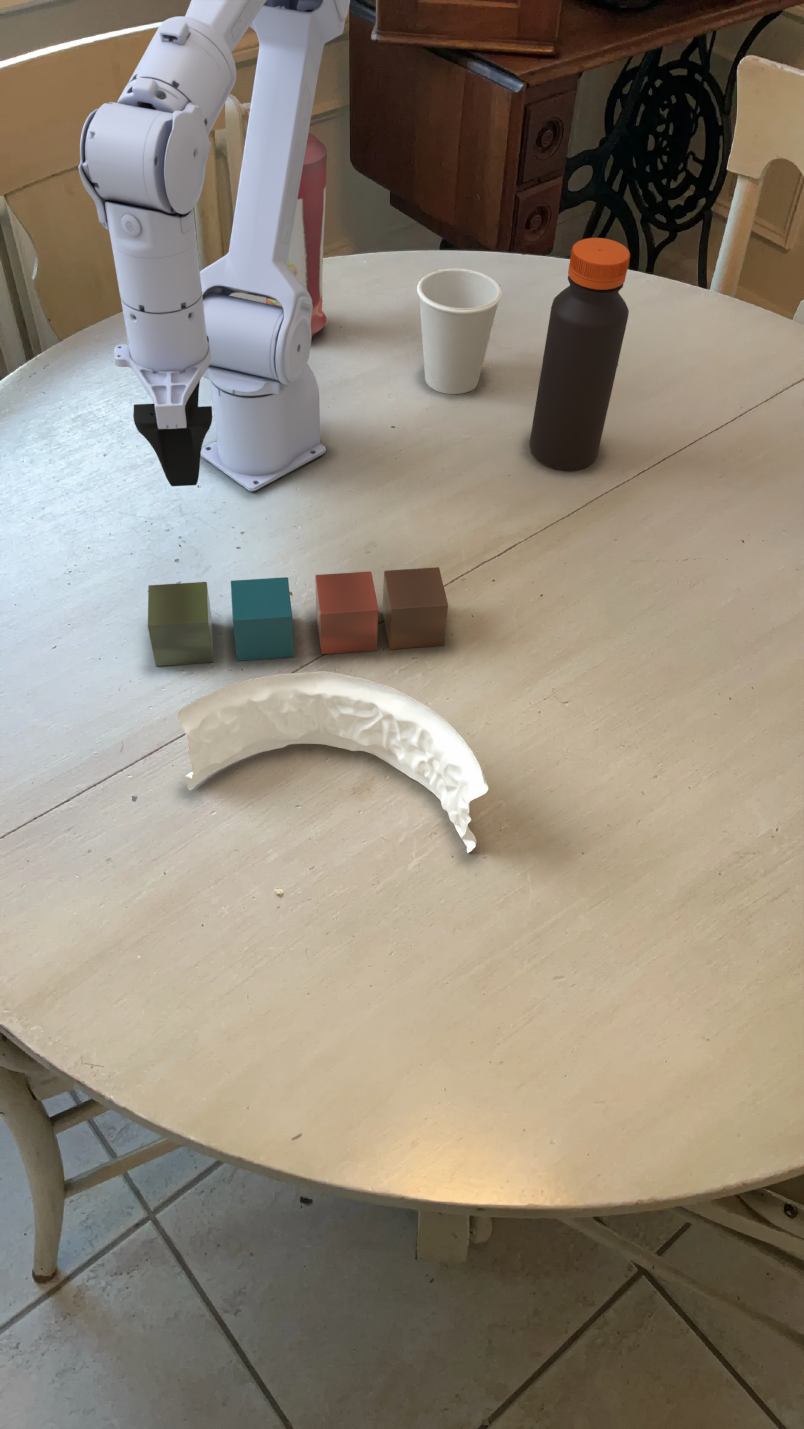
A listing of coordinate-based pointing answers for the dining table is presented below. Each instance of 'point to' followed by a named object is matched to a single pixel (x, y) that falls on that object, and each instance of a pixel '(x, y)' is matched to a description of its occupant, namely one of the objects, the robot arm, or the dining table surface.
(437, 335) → the dixie cup
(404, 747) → the curved plaster moulding
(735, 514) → the dining table surface
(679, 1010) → the dining table surface
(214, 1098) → the dining table surface
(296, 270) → the liquor
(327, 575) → the block row
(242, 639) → the teal block
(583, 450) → the bottle
